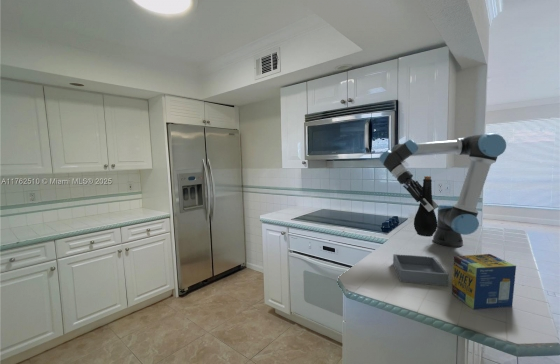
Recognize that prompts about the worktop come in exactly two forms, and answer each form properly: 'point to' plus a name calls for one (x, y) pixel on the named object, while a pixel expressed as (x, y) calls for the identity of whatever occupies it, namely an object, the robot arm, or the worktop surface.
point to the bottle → (426, 212)
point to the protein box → (483, 281)
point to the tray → (420, 270)
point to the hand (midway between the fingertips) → (433, 209)
